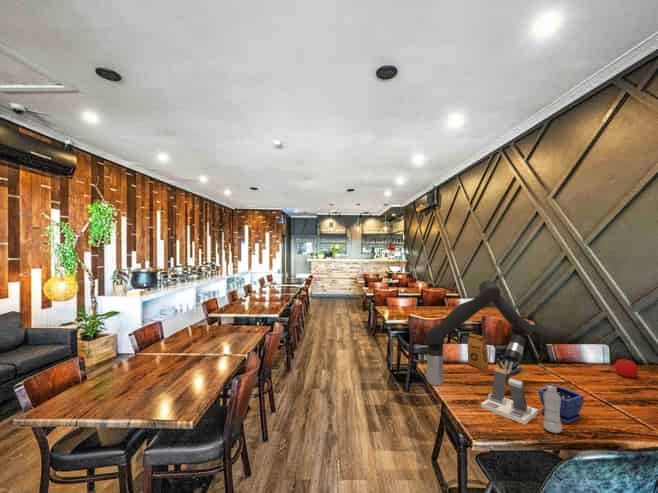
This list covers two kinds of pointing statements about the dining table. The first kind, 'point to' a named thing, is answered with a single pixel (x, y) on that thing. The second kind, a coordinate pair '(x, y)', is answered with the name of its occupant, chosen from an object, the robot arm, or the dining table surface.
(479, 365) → the coffee package
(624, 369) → the tomato
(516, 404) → the lever grey
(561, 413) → the flower pot
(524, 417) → the switch unit
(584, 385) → the dining table surface
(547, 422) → the plastic bottle
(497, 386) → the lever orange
